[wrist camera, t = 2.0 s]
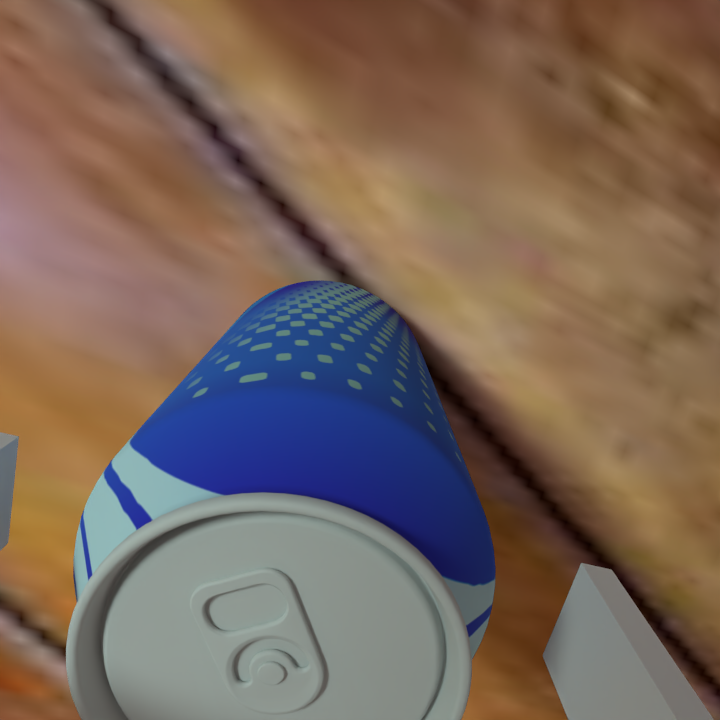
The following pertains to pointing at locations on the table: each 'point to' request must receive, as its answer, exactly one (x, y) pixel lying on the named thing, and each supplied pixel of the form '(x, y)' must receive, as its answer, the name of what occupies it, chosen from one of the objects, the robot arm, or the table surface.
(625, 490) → the table surface
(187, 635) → the beer can
